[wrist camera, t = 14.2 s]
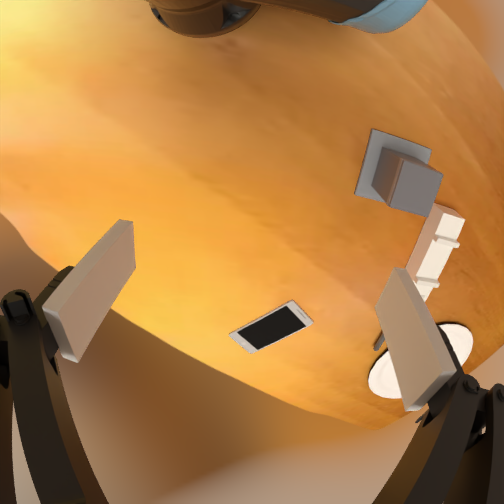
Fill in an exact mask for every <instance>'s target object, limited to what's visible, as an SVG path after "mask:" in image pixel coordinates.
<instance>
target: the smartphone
mask: <svg viewBox="0 0 504 504" xmlns="http://www.w3.org/2000/svg"><path fill="white" fill-rule="evenodd" d="M312 324H313V320H312V319H311V318H310V317H309V316H308V315H307V314H306V313H305V312H304V311H303V309H302V308H301V307H300V306H299V305H298V304H297V303H296V302H295V301H294V300H290V301H288V302H286V303H284V304H283V305H281V306H279V307H277V308H275V309H274V310H272V311H270V312H268V313H266V314H264V315H263V316H261V317H259V318H257V319H255V320H253V321H251V322H250V323H248V324H246V325H244V326H242V327H240V328H238V329H236V330H235V331H233V332H231V333H229V336H230V337H231V338H232V339H233V340H234V341H236V342H237V343H238V344H239V345H240V346H242V347H243V348H244V349H245V350H247V351H248V352H249V353H254V352H257V351H259V350H261V349H263V348H265V347H267V346H269V345H272V344H274V343H276V342H278V341H280V340H282V339H284V338H286V337H288V336H290V335H292V334H294V333H296V332H298V331H300V330H302V329H304V328H306V327H308V326H310V325H312Z"/></svg>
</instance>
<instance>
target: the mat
mask: <svg viewBox="0 0 504 504" xmlns="http://www.w3.org/2000/svg"><path fill="white" fill-rule="evenodd" d="M382 147H385V148H388V149H392V150H395V151H398V152H401V153H404V154H407V155H410V156H412V157H415V158H418V159H419V160H421V161H423V162H424V163H426V164H428V161H429V158H430V154H431V151H432V150H431V149H429V148H426V147H424V146H421V145H418V144H416V143H413V142H410V141H408V140H405V139H402V138H399V137H396V136H393V135H390V134H387V133H384V132H381V131H378V130H374V129H371V133H370V137H369V141H368V145H367V149H366V153H365V156H364V160H363V164H362V167H361V171H360V175H359V178H358V182H357V185H356V189H355V192H354V194H355V195H357V196H361V197H365V198H369V199H373V200H377V201H381V202H385V201H384V200H383V199H382V198H381V196H380V195H379V194H378V193H377V192H376V191H375V189H374V188H373V187H372V186H371V184H372V181H373V177H374V174H375V171H376V167H377V164H378V160H379V156H380V153H381V149H382ZM385 203H386V202H385Z"/></svg>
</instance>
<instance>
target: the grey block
mask: <svg viewBox="0 0 504 504" xmlns="http://www.w3.org/2000/svg"><path fill="white" fill-rule="evenodd" d="M442 178H443V174H442V173H441V172H439V171H437V170H436V169H434V168H432V167H431V166H429V165H428V164H426V163H424V162H423V161H421V160H419V159H418V158H415V157H412V156H410V155H407V154H404V153H401V152H398V151H395V150H392V149H388V148H385V147H382V149H381V153H380V156H379V160H378V164H377V167H376V171H375V174H374V177H373V181H372V184H371V186H372V187H373V188H374V189H375V191H376V192H377V193H378V194H379V195H380V196H381V198H382V199H383V200H384V201H385V202H386V204H387V205H388V206H389V207H391V208H395V209H399V210H403V211H406V212H410V213H414V214H417V215H421V216H424V217H429V214H430V211H431V209H432V206H433V203H434V201H435V198H436V195H437V192H438V189H439V186H440V184H441V181H442Z"/></svg>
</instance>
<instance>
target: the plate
mask: <svg viewBox="0 0 504 504" xmlns="http://www.w3.org/2000/svg"><path fill="white" fill-rule="evenodd" d="M437 326H440V327H441V328H442V330H443V331H444V332H445V333H446V334H447V337H448V339H449V341H450V344H451V345H452V347H453V351H455V353H456V356H457V358H458V360H459V362H460V365H461V366H462V365H463V363H464V362H465V361H466V360H467V358H468V356H469V354H470V352H471V349H472V345H473V338H472V333H471V332H470V331H469V330H468V329H467V328H466V327H464V326H462V325H459V324H442V325H437ZM368 383H369V387H370V389H371V390H372V391H373V392H374V393H375V394H377V395H379V396H381V397H386V398H402V396H401V392H400V388H399V385H398V381H397V377H396V374H395V370H394V367H393V364H392V360H391V357H390V354H389V350H388V351H386V352H385V353H384V354H383V355H382V356H381V357H380V358H379V359H378V360H377V362H376V363H375V365H374V366H373V368H372V369H371V371H370V374H369V378H368Z"/></svg>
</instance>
